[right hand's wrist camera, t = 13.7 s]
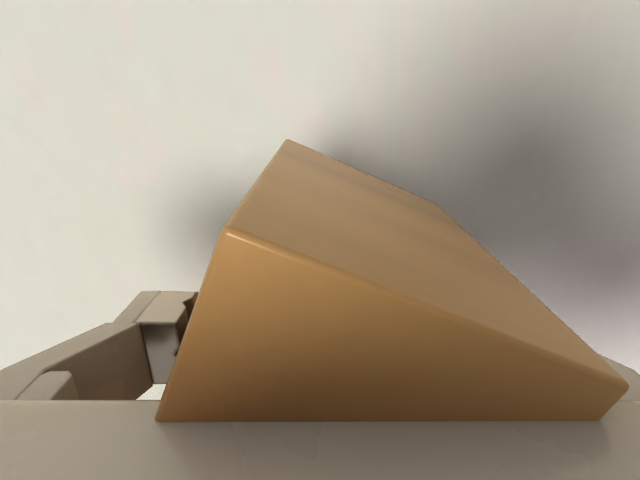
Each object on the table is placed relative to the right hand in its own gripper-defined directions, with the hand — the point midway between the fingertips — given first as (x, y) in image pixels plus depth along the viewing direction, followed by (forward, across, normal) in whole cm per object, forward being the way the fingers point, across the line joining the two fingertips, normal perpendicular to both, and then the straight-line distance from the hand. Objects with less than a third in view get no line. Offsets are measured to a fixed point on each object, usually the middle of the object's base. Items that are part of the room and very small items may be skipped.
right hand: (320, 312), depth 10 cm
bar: (+3, -3, -7) cm, 8 cm away
